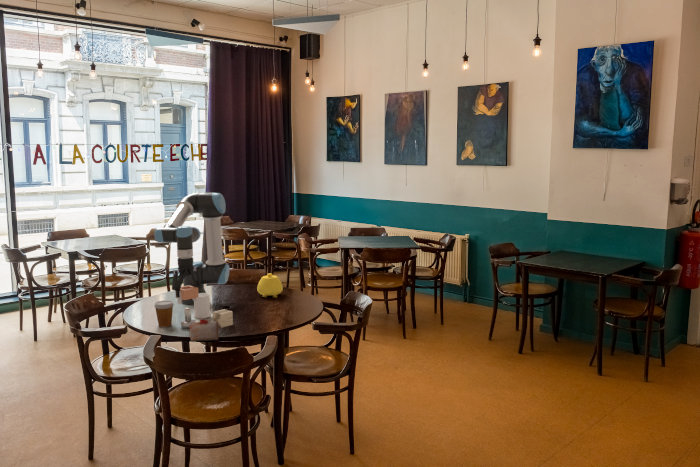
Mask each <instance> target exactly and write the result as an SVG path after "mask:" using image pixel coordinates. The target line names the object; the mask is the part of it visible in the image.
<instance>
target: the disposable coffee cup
mask: <svg viewBox="0 0 700 467" xmlns="http://www.w3.org/2000/svg"><path fill="white" fill-rule="evenodd" d="M174 305H175V303H174V302H173V301H172V300H160V301H159V300H158V301H156V302H155V303H154V304H153V306H154V308H155V313H156V319H157V324H158V327H160V328H168V327H171V326H172V323H173V322H172V321H173V320H172V319H173V311H174V310H173V309H174V308H173V307H174Z"/></svg>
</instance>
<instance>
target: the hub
mask: <svg viewBox="0 0 700 467" xmlns="http://www.w3.org/2000/svg"><path fill="white" fill-rule="evenodd" d="M195 322H196V320H194V319H192V308H191V307H184V320H182V321H181V322H180V324H181V325H180V327H181V329H183V330H190V327H189V326H190V325H191V323H195Z"/></svg>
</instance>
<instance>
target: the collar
mask: <svg viewBox="0 0 700 467" xmlns="http://www.w3.org/2000/svg"><path fill="white" fill-rule="evenodd" d="M174 291H175V290H174ZM180 291H181V296H182V300H188V299H193V298H198V287H194V286H190V285H188V286H184V285H183V286H181V288H180ZM175 294H176V291H175ZM175 298H176V299H177V297H176V296H175Z"/></svg>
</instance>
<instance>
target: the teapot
mask: <svg viewBox="0 0 700 467" xmlns="http://www.w3.org/2000/svg"><path fill="white" fill-rule="evenodd" d="M283 288H284V287H283V283H282V281H281V280H280V278H279V277H278V276H277V275H273V273H271V272H270V273H267V275H264V276H261V278H260V280H259V281H258V284H257V287H256V289H257V292H258V294H260V295H262V296H261V298H262V297H265V298H267V297H268V296H272V298H278V295H279V294H282V292H283Z"/></svg>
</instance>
